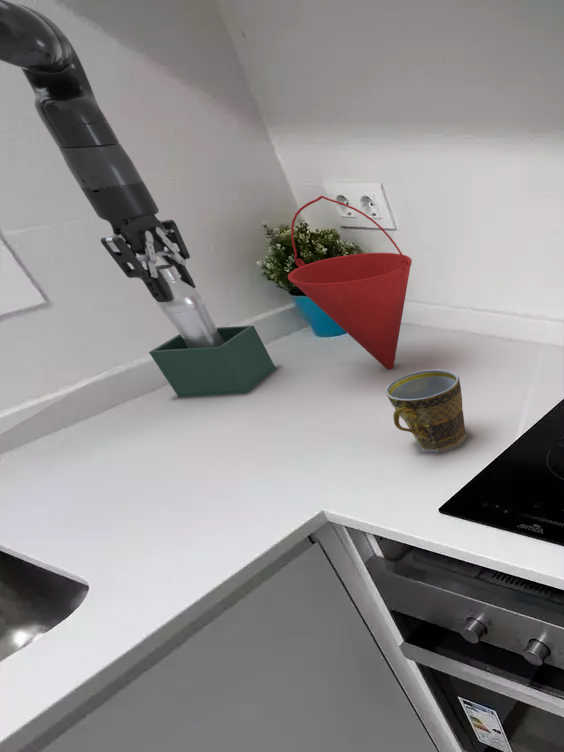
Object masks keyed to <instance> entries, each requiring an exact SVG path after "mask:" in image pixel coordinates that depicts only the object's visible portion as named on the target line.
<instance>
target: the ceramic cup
mask: <svg viewBox="0 0 564 752" xmlns="http://www.w3.org/2000/svg"><path fill="white" fill-rule="evenodd" d="M385 395H386V397H387V398H388V400H389V402H390V403H391V405H392V407H393V408H394V412H393V416H392V417H393V423H394V426H395V427H396V429H398V430H400V431H403V432H409V433H410V434H412V435H413V437H414V439H415V441H416V442H417V444H418V445H419V447H420V449H421V451H423V452H424V453H437V454H441V453H444V452H446V451H449V450H453V449H456V448H458V447H459V446H460V445H461V444H462V443H463V442H464V441H465V440H466V438H467V434H466V427H465V416H464V410H463V395H462V387H461V382H460V377H459V375H458V374H457V373H456V372H453V371H451V370H447V369H439V368H438V369H424V370H418V371H414V372H410V373H407V374H405V375H402V376H400V377H398V378H396V379H394V380H392V381H391V382H390V383H389V384H388V385H387V386H386V388H385ZM400 418H401V419H402V420H403V422H404V423H405V424H406V427H408V428H406V427H403V426H401V424H400Z"/></svg>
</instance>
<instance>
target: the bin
mask: <svg viewBox="0 0 564 752" xmlns="http://www.w3.org/2000/svg"><path fill="white" fill-rule="evenodd" d="M216 328H217V330H218V332H219V334H220V336H221V337H222V338H223V340H224V341H225V343H224V344H222V345H221V346H220V347H207V348H190V349H188V347H187V345H186V343H185V341H184V340H183V338H182V337H181V334H179V333H178V334H177V335H175V336H173V337H172V338H171V339H170V338H169V340H167V341H165V342H163V343H162V344H160V345H158V346H157V347H155V348H153V349H152V350H150V351H149V352H148V354H149V355H150V356H151V358H152V360H153V361H154V363H155V364H156V365H157V367H158V368H159V371H161V373H162V374H163V376H164V377H165V379H166V381H167V382H168V384H169V385H170V387H171V388H172V390H173V391H174V393H175V394H176V395H177V397H178V398H192V397H193V398H194V397H208V396H224V395H225V396H226V395H239V394H240V395H241V394H242V395H243V394H248V393H249V392H250V391H252V390H253V389H254V388H255V387H256V386H257V385H258V384H260V383H261V382H262V381H263V380H264V379H265V378H267V377H268V376H269V375H270V374H271V373H272V372H274V371H275V370H276V369H277V367H276V366H275V364H274V362H273V360H272V359H271V357H270V354H269V352H268V351H267V349H266V347H265V345H264V342H263V341H262V339H261V337H260V335H259V334H258V331H257V329H256V327H255V325H237V326H235V325H234V326H221V327H220V326H219V327H216Z"/></svg>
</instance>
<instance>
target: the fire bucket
mask: <svg viewBox="0 0 564 752" xmlns="http://www.w3.org/2000/svg"><path fill="white" fill-rule="evenodd" d="M322 199H324V200H326V201H329V202H332V203H335V204H338V205H341V206H343V207H345V208H348V209H351V210H353V211H355V212H357V213H359V214H361V215H362V216H364V217H365V218H367V219H368V220H369V221H370V222H372V223H373V224H374V225H376V226H377V227H378V228H379V229H380V230H381V231H382V232H383V234H385V236H386V237H387V238H388V240H390V242H391V243H392V244H393V246H394V247H395V248H396V250H397V251H398V253H395V252H365V253H354V254H353V253H352V254H346V255H340V256H334V257H330V258H325V259H321V260H316V261H313V262H309V263H305V262H304V260H302V259H301V258H298V253H297V252H298V251H297V249H296V244H295V238H294V227H295V223H296V220H297V218H298V216H299V214H300V213H301V212H302V211H303V210H304V209H306V208H307V207H309V206H311V205H312V204H314V203H317V202H318V201H320V200H322ZM290 238H291V244H292V248H293V252H294V257H293V258H294V261H295V265H296V266H297V268H295V269H293V270H292V271H290V272H289V273H288V275H287V279H288V281H289V282H290V283H291V284H293V285H294V286H295V287H297V288H298V290H300V291H301V293H303V294H304V295H305V296H306V297H307V298H309V299H310V300H311V301H312V302H313V303H314V304H315V305H316V306H317V307H318V308H319V309H320V310H322V311H323V312H324V313H325V314H326V315H327V316H328V317H329V318H330V319H331V320H333V321H334V322H335V323H336V324H337V325H338V326H339V327H340V328H341V329H342V330H343V331H344V332H345V333H347V334H348V335H349V336H350V337H351V338H352V339H353V340H354V341H356V342H357V344H359V345H360V346H361V347H362V348H363V349H364V350H365V351H367V352H368V354H370V355H371V356H372V357H373V358H374V359H375V360H376V361H377V362H378V363H379V364H380V365H381V366H382V367H384V368H385V369H386V370H393V369H394V367H395V362H396V356H397V355H396V353H397V349H398V343H399V337H400V331H401V325H402V319H403V313H404V307H405V301H406V295H407V289H408V285H409V277H410V272H411V266H412V263H413V259H412V258H411V257H410V256H408V255H406V254H403V253H402V251H401V250H400V248H399V246H398V245H397V243H396V242H395V241H394V239H393V238H392V237H391V236H390V235H389V234H388V232H386V230H385V228H383V227H382V226H381V225H380V224H379V223H377V222H376V220H374V219H373V218H371V217H370V216H368V215H367V214H366V213H365V212H362V211H361V210H359V209H357V208H356V207H354V206H351V205H349V204H346V203H343V202H341V201H337V200H335V199H331V198H329V197H327V196H324V195H320V196H318V197H317V198H316V199H313V200H310V201H309V202H307V203H305V204H304V205H302V206H301V207H299V209H298V210H297V212H296V213H295V214H294V216H293V218H292V221H291V227H290Z"/></svg>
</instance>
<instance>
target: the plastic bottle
mask: <svg viewBox="0 0 564 752" xmlns="http://www.w3.org/2000/svg"><path fill="white" fill-rule="evenodd" d="M155 267H156V270H157V274H158V277H160V278H161V280H162V281H163V283H164V285H165V287H166V288H167V290H168V292H169V293H170V295H171V297H172V300H171V301H169V302H158V301H156V300H155V302H156V305H157V307H158V308H159V309H160V311H161V312H162V313H163V314H164V315H165V317H166V318H167V319H168V320H169V321H170V323H171V324H172V326H173V327H174V328H175V329H176V331H177V332H178V335H179V334H181V337H182V338H183V340H184V341H185V343H186V345H187V347H188V349H190V348H207V347H220V346H221V345H222V344H224V343H225V341H224V340H223V338H222V337H221V336H220V334H219V332H218V330H217V327H216V324H215V322H214V320H213V318H212V316H211V314H210V311H209V308H208V306H207V304H206V300H205V299H204V297H203V295H202V293H201V292H200V291H198V289H196V288H195V289H194V288H193V287H191V286H190V285H188V284H187V283H185V282H183V281H182V280H181V279H180V277H181V275H180V273H178V271H177V269H176V267H175V266H174V265H170V264H169V265H167V264H160V265H155Z"/></svg>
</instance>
